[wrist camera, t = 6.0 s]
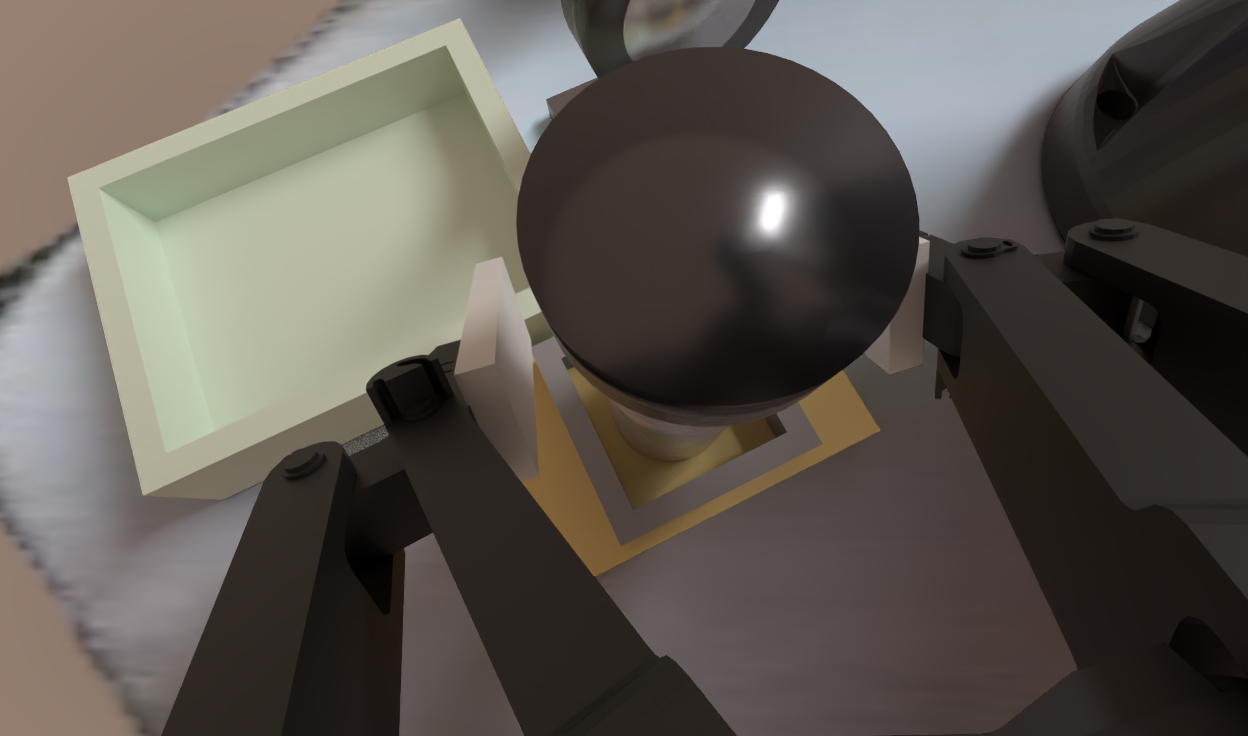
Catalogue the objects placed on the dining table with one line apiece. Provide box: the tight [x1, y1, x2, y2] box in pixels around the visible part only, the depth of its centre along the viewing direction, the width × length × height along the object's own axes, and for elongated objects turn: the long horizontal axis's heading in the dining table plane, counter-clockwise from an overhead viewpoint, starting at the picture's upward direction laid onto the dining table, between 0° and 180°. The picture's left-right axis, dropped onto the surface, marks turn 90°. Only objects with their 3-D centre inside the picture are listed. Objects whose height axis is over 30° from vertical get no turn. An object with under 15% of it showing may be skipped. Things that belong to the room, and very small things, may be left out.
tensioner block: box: [522, 337, 881, 577], centre depth 20 cm, size 12×8×4 cm, turn 116°
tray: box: [68, 18, 554, 500], centre depth 22 cm, size 16×13×4 cm
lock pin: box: [516, 47, 919, 462], centre depth 13 cm, size 5×5×13 cm
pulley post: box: [546, 0, 779, 120], centre depth 19 cm, size 7×7×12 cm
